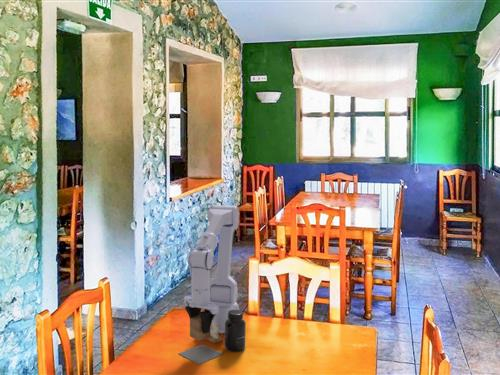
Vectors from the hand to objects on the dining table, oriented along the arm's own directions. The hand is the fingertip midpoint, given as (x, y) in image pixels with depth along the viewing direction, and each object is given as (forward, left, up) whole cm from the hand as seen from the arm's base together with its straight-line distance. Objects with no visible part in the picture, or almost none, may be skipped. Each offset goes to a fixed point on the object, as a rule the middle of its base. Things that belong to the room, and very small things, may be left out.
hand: (200, 330), depth 160 cm
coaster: (0, 0, -8) cm, 8 cm away
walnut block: (0, 0, -2) cm, 2 cm away
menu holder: (-10, -8, -8) cm, 15 cm away
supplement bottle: (-11, +4, -8) cm, 14 cm away
